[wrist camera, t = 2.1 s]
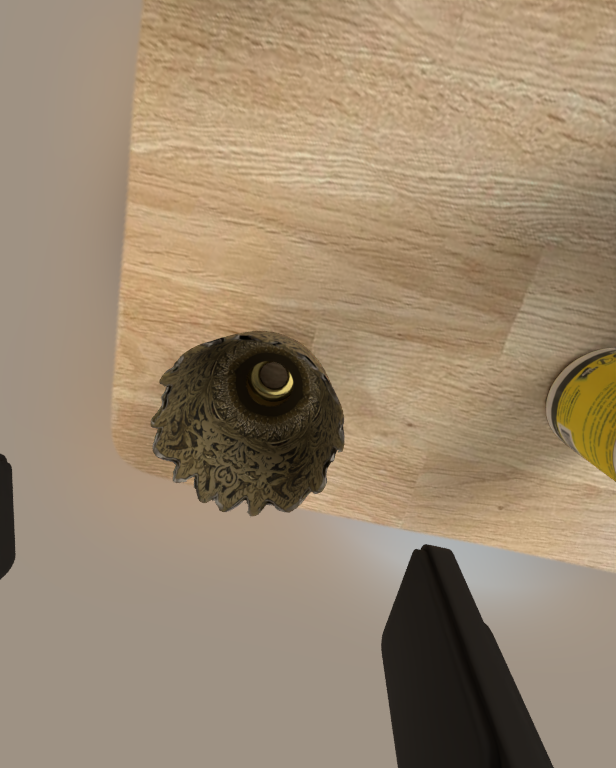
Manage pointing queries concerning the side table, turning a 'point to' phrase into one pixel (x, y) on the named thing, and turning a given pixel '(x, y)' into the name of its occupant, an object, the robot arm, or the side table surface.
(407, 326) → the side table surface
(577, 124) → the side table surface
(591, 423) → the pill bottle
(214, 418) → the ornate candle holder
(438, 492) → the side table surface
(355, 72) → the side table surface
